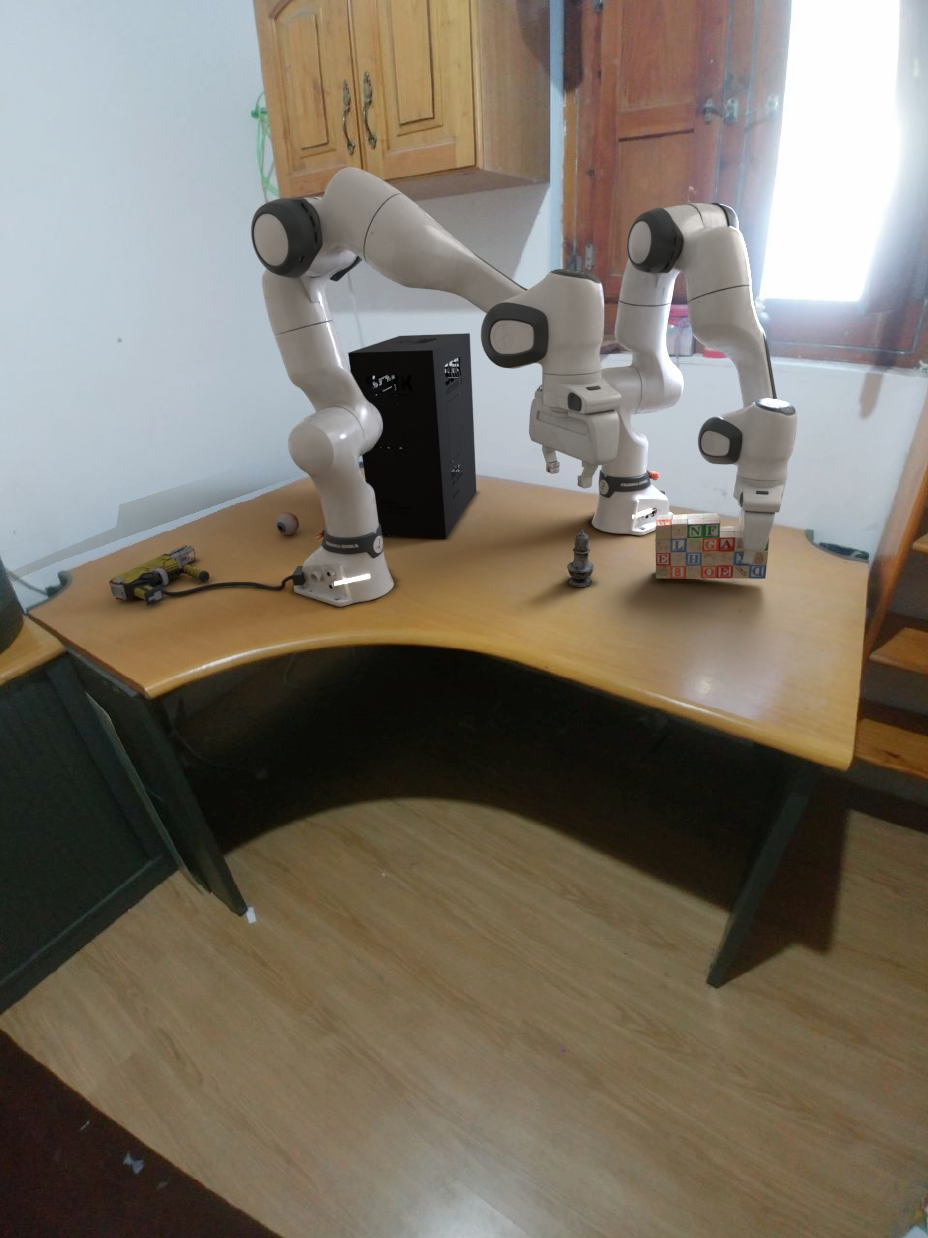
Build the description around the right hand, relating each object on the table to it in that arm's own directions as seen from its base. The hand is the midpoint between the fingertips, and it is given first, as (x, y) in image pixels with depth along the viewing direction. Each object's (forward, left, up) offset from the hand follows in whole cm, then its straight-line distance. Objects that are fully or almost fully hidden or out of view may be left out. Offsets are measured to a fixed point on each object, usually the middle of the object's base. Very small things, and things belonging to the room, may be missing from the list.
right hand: (745, 554), depth 123 cm
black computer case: (+40, -77, -7) cm, 87 cm away
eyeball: (+79, -82, -7) cm, 114 cm away
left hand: (+43, -2, +23) cm, 48 cm away
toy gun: (+109, -65, -7) cm, 127 cm away
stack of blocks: (+5, -5, -5) cm, 8 cm away
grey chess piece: (+28, -18, -7) cm, 34 cm away
